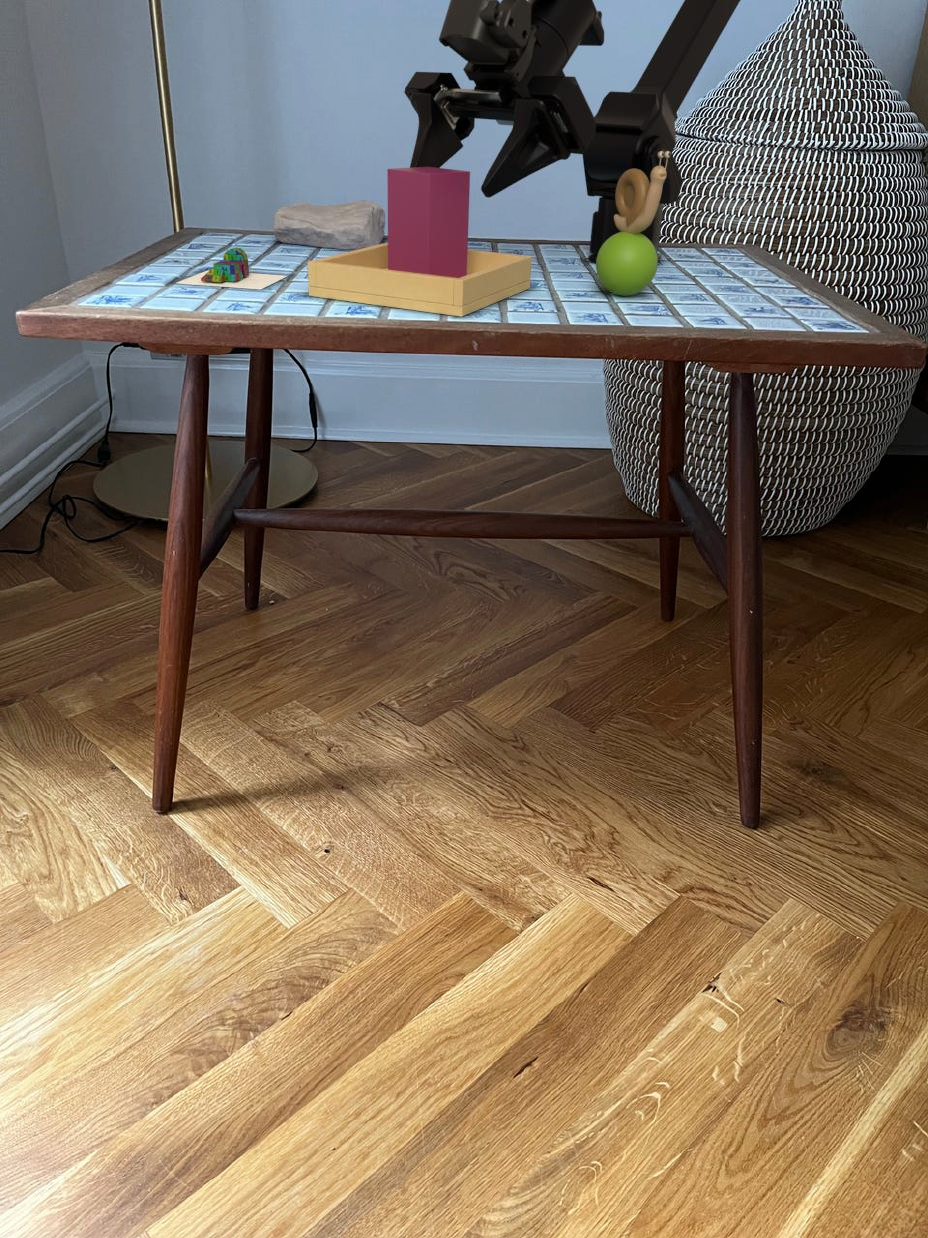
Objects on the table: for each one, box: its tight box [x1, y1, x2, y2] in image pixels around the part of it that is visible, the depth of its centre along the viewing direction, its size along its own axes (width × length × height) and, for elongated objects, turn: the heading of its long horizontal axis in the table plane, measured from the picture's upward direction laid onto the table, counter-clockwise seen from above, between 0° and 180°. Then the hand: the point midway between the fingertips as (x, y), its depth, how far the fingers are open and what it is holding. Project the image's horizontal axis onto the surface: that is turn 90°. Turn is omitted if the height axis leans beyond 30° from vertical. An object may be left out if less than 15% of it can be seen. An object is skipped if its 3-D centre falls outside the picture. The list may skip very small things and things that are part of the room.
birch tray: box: [307, 241, 533, 318], centre depth 84 cm, size 15×15×3 cm
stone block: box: [273, 200, 386, 251], centre depth 107 cm, size 12×5×10 cm
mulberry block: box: [386, 167, 471, 278], centre depth 83 cm, size 5×5×9 cm
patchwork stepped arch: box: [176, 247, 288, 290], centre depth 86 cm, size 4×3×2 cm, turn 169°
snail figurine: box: [595, 151, 671, 297], centre depth 83 cm, size 5×6×12 cm
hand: (446, 188), depth 82 cm, fingers open, 9 cm apart
